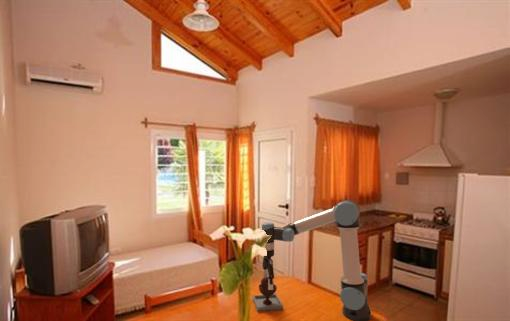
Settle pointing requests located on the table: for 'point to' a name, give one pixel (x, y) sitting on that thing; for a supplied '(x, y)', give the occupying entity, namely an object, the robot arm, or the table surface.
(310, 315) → the table surface
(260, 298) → the tray
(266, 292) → the ice cream bowl
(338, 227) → the robot arm
